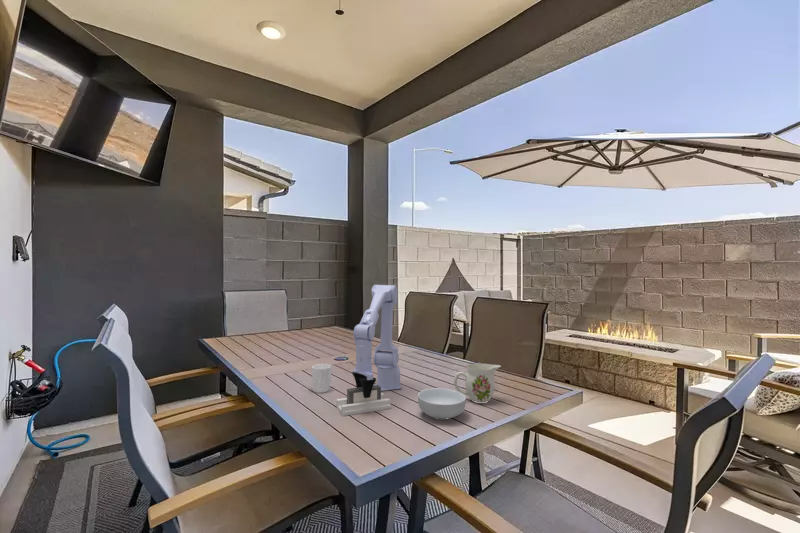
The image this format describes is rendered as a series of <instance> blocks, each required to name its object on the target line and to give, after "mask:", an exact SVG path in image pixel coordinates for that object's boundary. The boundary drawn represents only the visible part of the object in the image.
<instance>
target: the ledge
mask: <svg viewBox="0 0 800 533" xmlns="http://www.w3.org/2000/svg"><path fill="white" fill-rule="evenodd" d="M391 402H392V400H391V399H390V398H385V393H383V392H381V400H374V401H367V402H360V403H353V404H347V397H343V398H336V404H335V405H336V406H335V407H336V409H337V410H338V412H339V413H340V415H341V416H343V417H345V416H352V415H358V414H364V413H371V412H377V411H378V412H379V411H384V410H390V408H391V409H392V406H391Z"/></svg>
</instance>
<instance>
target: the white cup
mask: <svg viewBox="0 0 800 533" xmlns="http://www.w3.org/2000/svg"><path fill="white" fill-rule="evenodd" d="M331 373H332V365H331V364H328V363H317V364H314V365H312V366H311V378H312V391H313V392H314V393H316V394H317V393H318V394H323V393H327V392H329V391H330V389H331V388H330V386H331V385H330V384H331V378H332V377H331V376H332V374H331Z"/></svg>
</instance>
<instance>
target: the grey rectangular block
mask: <svg viewBox="0 0 800 533" xmlns="http://www.w3.org/2000/svg"><path fill="white" fill-rule="evenodd" d="M381 393H382V391H381V387H380V386H379V385H375V384H374V385H373V388H372V391H371V396H370V398H364V395H363V388H362V387H358V388H357V387H352V388H346V398H347V404H353V403H360V402H367V401H374V400H381Z"/></svg>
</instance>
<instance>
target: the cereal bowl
mask: <svg viewBox="0 0 800 533" xmlns="http://www.w3.org/2000/svg"><path fill="white" fill-rule="evenodd" d="M466 397H467V396H466V395H465V394H462V393H461V392H458V391H457V390H454V389H450V388H443V387H432V388H431V387H430V388H426V389H422V390H421V391H419V392H418V394H417V403H418V404H417V405H418V407H419V408H420V410H421V411H422V412H423V413H424V414H426V415H428V416H430V417H432V419H435V418H438V419H437V420H439V419H446V418H450V419H452V418H455V417H457V416H460V415H461V414H462V413H463V411H465V408H466V403H467V398H466ZM446 420H447V419H446Z"/></svg>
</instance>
